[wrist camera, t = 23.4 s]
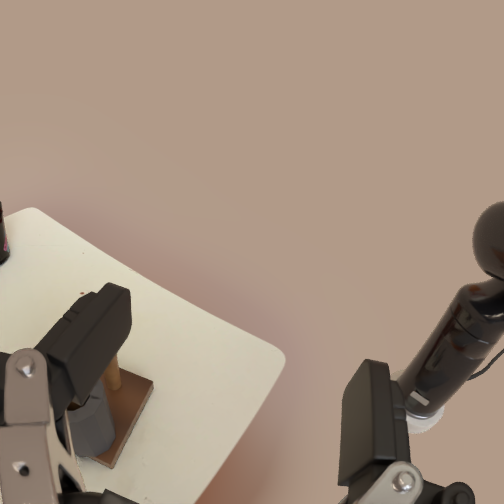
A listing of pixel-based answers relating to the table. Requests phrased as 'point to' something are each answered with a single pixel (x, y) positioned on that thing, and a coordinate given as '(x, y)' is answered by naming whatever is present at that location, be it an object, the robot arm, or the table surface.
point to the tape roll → (92, 424)
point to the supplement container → (3, 239)
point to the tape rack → (121, 406)
